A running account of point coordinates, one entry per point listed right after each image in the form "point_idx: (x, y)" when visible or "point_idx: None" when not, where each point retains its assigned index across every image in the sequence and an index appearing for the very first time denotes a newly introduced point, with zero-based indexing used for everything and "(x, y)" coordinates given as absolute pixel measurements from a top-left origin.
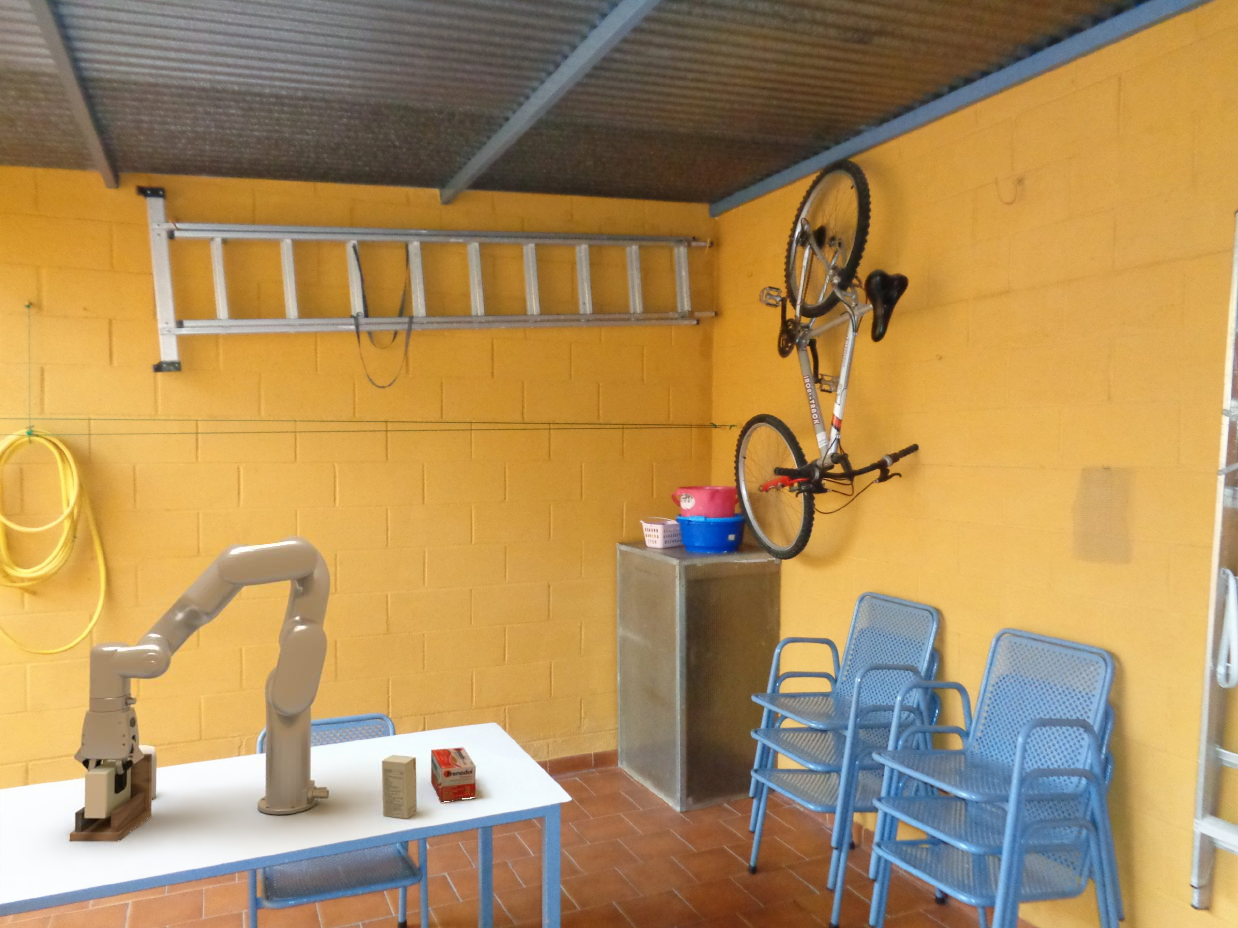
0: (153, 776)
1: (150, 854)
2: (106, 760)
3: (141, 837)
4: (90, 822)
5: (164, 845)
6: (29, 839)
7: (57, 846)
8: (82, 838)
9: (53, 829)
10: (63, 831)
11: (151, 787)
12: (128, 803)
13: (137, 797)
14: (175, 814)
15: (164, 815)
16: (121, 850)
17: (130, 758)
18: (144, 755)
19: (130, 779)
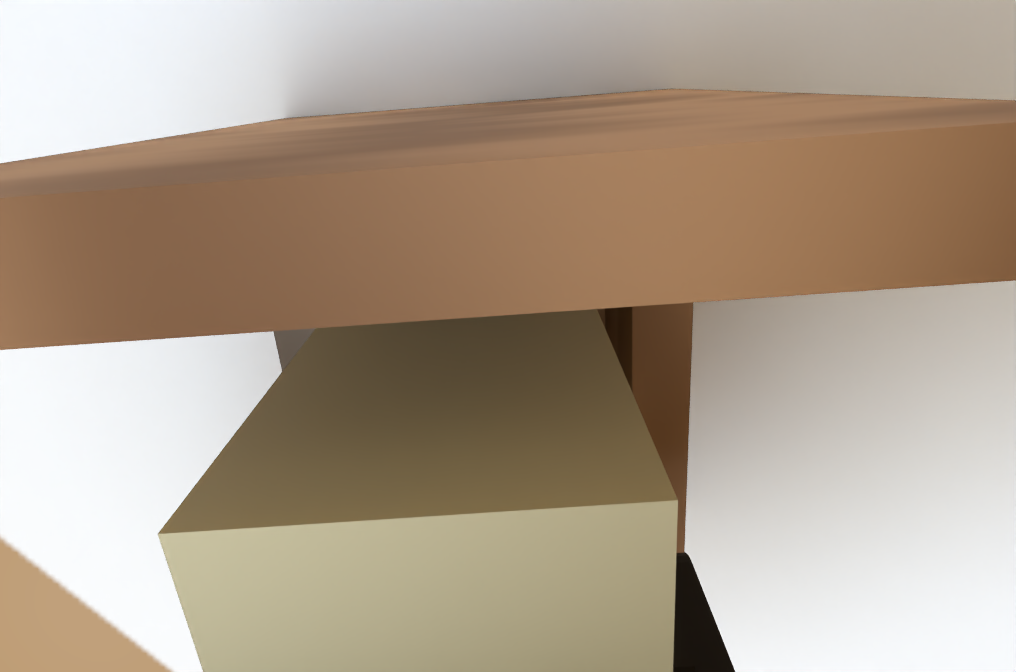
0: None
1: (918, 636)
2: None
3: (774, 455)
4: None
5: (959, 540)
6: (109, 528)
7: None
8: None
9: (117, 387)
10: (211, 411)
11: (760, 92)
12: (670, 451)
13: (681, 304)
14: (861, 26)
15: (774, 59)
16: (739, 608)
17: (675, 520)
18: (989, 273)
19: (593, 309)
